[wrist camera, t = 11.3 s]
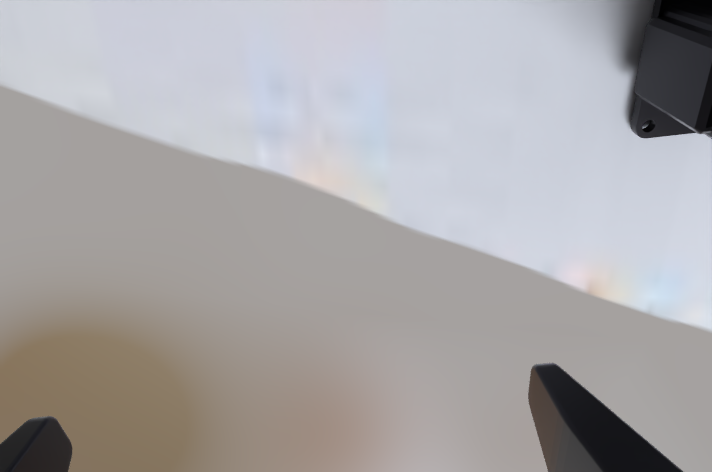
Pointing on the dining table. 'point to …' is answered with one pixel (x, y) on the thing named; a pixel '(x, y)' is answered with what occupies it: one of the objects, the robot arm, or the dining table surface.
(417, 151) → the dining table surface
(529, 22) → the dining table surface
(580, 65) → the dining table surface
